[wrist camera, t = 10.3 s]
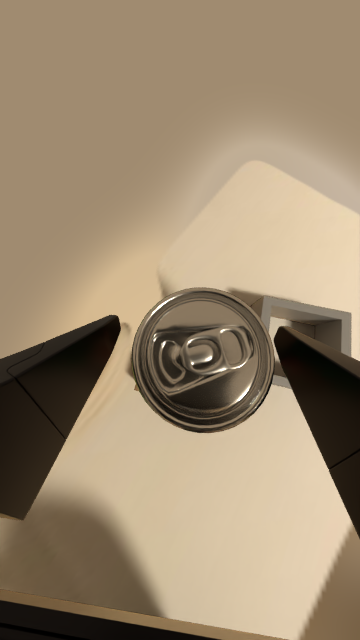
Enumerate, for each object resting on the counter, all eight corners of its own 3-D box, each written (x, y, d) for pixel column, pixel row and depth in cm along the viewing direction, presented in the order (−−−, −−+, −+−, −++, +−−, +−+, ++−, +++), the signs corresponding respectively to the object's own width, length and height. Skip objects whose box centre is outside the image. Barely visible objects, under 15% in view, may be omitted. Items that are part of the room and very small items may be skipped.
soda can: (162, 337, 17) (108, 296, 5) (207, 326, 17) (254, 260, 5) (172, 386, 16) (134, 472, 4) (221, 374, 16) (319, 424, 4)
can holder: (320, 394, 16) (350, 403, 13) (241, 375, 16) (253, 379, 13) (323, 320, 17) (351, 312, 14) (251, 305, 18) (263, 295, 15)
